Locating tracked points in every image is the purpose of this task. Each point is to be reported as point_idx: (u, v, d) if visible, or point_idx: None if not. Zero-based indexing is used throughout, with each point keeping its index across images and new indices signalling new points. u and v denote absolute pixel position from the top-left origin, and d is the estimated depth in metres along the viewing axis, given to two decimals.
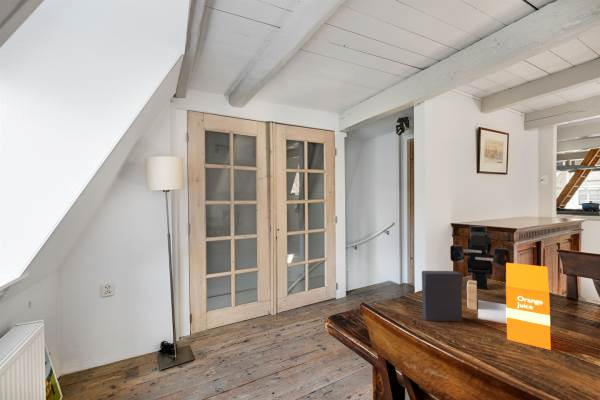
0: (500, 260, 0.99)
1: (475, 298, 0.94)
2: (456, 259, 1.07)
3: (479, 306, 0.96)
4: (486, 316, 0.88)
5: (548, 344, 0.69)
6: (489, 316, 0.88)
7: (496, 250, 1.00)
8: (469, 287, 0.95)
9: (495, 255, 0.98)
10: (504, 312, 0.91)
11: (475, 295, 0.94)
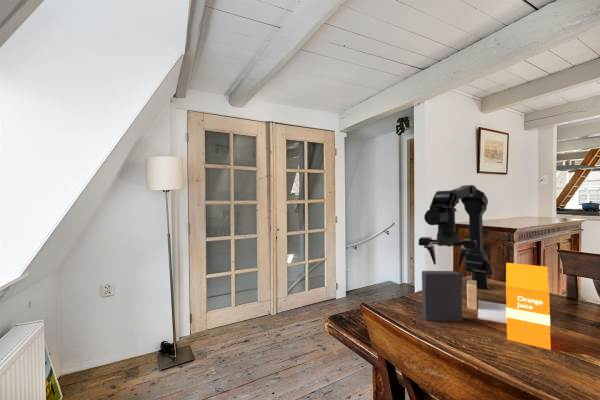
0: None
1: (475, 298, 0.94)
2: None
3: (479, 306, 0.96)
4: (486, 316, 0.88)
5: (548, 344, 0.69)
6: (489, 316, 0.88)
7: (462, 251, 0.98)
8: (469, 287, 0.95)
9: (461, 258, 0.99)
10: (504, 312, 0.91)
11: (475, 295, 0.94)
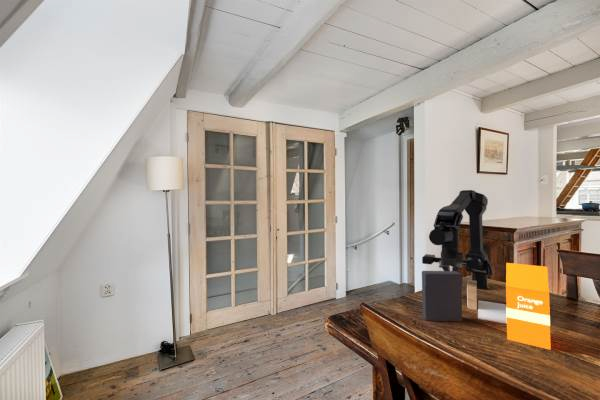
0: None
1: (475, 298, 0.94)
2: None
3: (479, 306, 0.96)
4: (486, 316, 0.88)
5: (548, 344, 0.69)
6: (489, 316, 0.88)
7: (453, 269, 0.99)
8: (469, 287, 0.95)
9: None
10: (504, 312, 0.91)
11: (475, 295, 0.94)
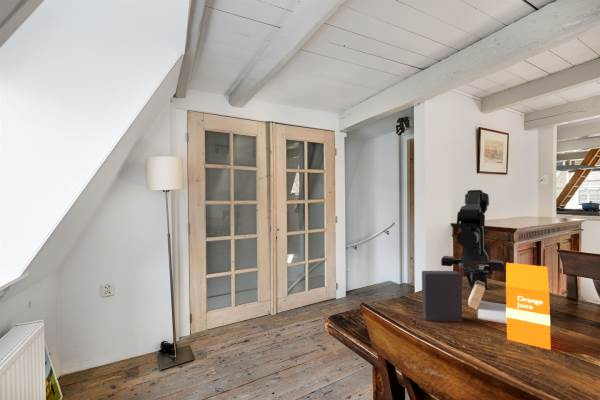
0: None
1: (479, 299, 0.94)
2: None
3: (479, 306, 0.96)
4: (486, 316, 0.88)
5: (548, 344, 0.69)
6: (489, 316, 0.88)
7: (475, 271, 0.96)
8: (477, 287, 0.94)
9: (473, 278, 0.97)
10: (504, 312, 0.91)
11: (481, 296, 0.93)
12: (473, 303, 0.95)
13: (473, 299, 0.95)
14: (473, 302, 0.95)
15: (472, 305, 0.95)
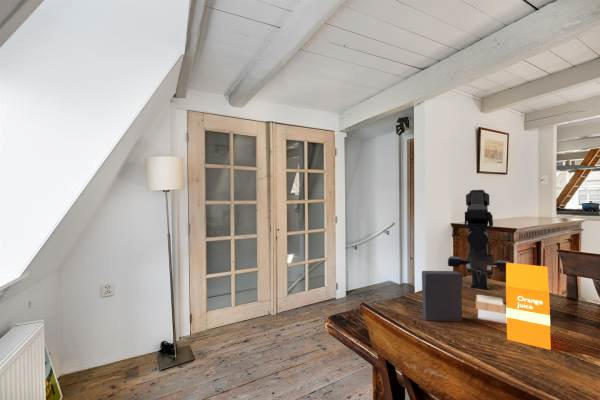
0: None
1: (489, 310, 0.92)
2: None
3: None
4: (486, 316, 0.88)
5: (548, 344, 0.69)
6: (489, 316, 0.88)
7: (482, 272, 0.94)
8: (502, 307, 0.90)
9: (481, 279, 0.96)
10: None
11: (493, 310, 0.91)
12: (481, 305, 0.93)
13: (486, 304, 0.93)
14: (482, 305, 0.93)
15: (478, 304, 0.94)
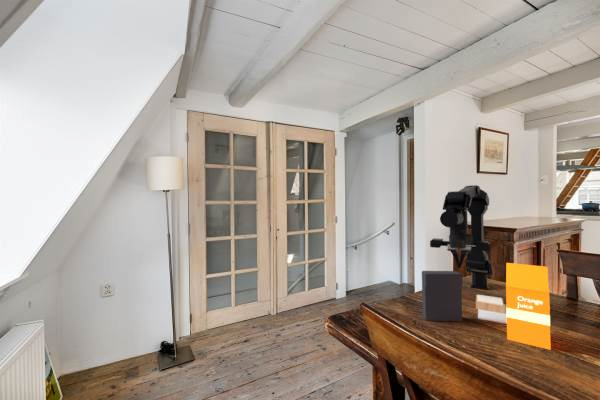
0: None
1: (489, 310, 0.92)
2: None
3: None
4: (486, 316, 0.88)
5: (548, 344, 0.69)
6: (489, 316, 0.88)
7: (462, 251, 0.98)
8: (502, 307, 0.90)
9: (461, 259, 0.99)
10: None
11: (493, 310, 0.91)
12: (481, 305, 0.93)
13: (486, 304, 0.93)
14: (482, 305, 0.93)
15: (478, 304, 0.94)
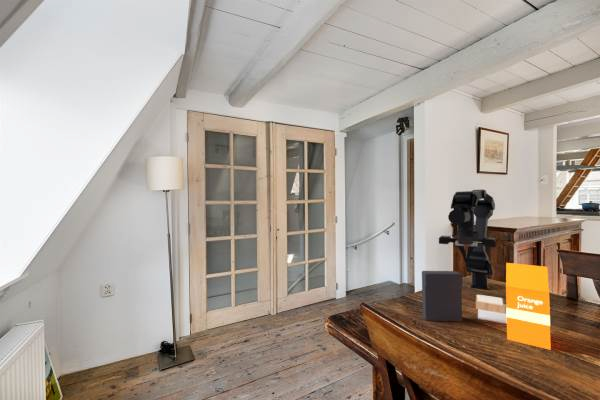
0: None
1: (489, 310, 0.92)
2: None
3: None
4: (486, 316, 0.88)
5: (548, 344, 0.69)
6: (489, 316, 0.88)
7: (469, 248, 1.05)
8: (502, 307, 0.90)
9: (468, 254, 1.06)
10: None
11: (493, 310, 0.91)
12: (481, 305, 0.93)
13: (486, 304, 0.93)
14: (482, 305, 0.93)
15: (478, 304, 0.94)
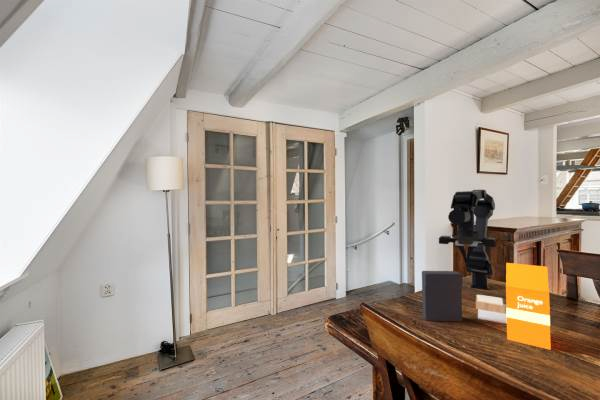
0: None
1: (489, 310, 0.92)
2: None
3: None
4: (486, 316, 0.88)
5: (548, 344, 0.69)
6: (489, 316, 0.88)
7: (469, 247, 1.05)
8: (502, 307, 0.90)
9: (468, 254, 1.06)
10: None
11: (493, 310, 0.91)
12: (481, 305, 0.93)
13: (486, 304, 0.93)
14: (482, 305, 0.93)
15: (478, 304, 0.94)
